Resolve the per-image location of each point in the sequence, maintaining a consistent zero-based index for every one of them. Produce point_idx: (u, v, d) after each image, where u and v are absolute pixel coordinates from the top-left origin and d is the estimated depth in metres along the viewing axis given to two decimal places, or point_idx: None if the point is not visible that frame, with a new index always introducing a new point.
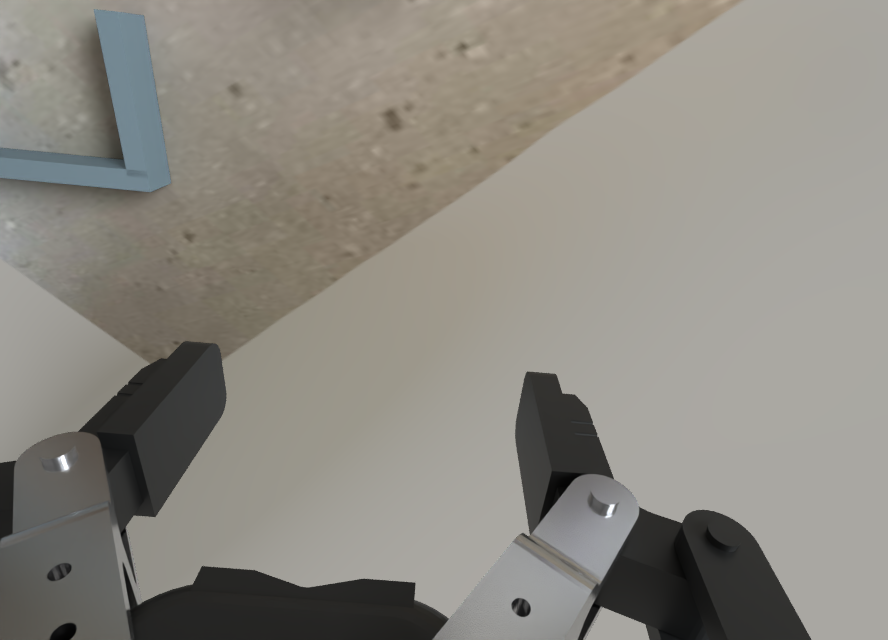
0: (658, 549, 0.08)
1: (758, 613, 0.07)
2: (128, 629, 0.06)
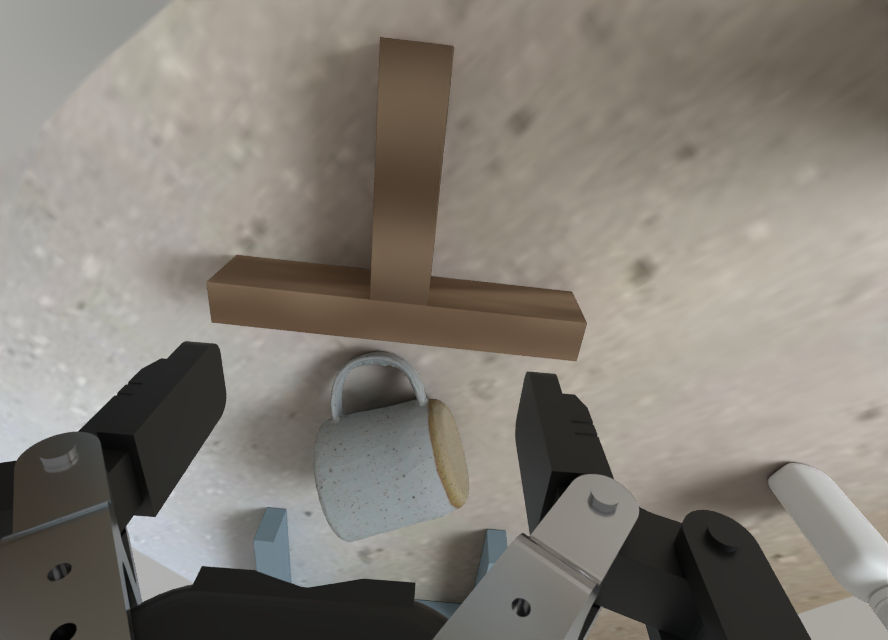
0: (658, 549, 0.08)
1: (758, 613, 0.07)
2: (128, 629, 0.06)
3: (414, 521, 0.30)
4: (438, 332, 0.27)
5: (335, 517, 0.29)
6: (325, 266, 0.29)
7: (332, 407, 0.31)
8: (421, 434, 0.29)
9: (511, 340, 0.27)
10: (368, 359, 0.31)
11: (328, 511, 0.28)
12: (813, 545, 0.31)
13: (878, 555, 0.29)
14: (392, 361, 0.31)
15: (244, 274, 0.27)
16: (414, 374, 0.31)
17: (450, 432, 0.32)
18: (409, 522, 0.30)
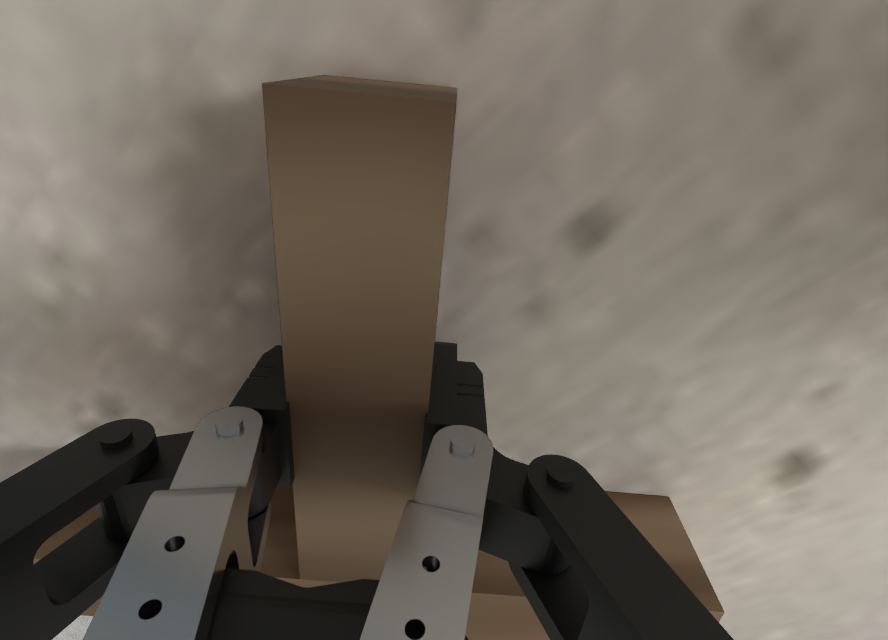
0: (508, 489, 0.09)
1: (604, 532, 0.08)
2: (196, 632, 0.06)
3: None
4: None
5: None
6: None
7: None
8: None
9: None
10: None
11: None
12: None
13: None
14: None
15: None
16: None
17: None
18: None
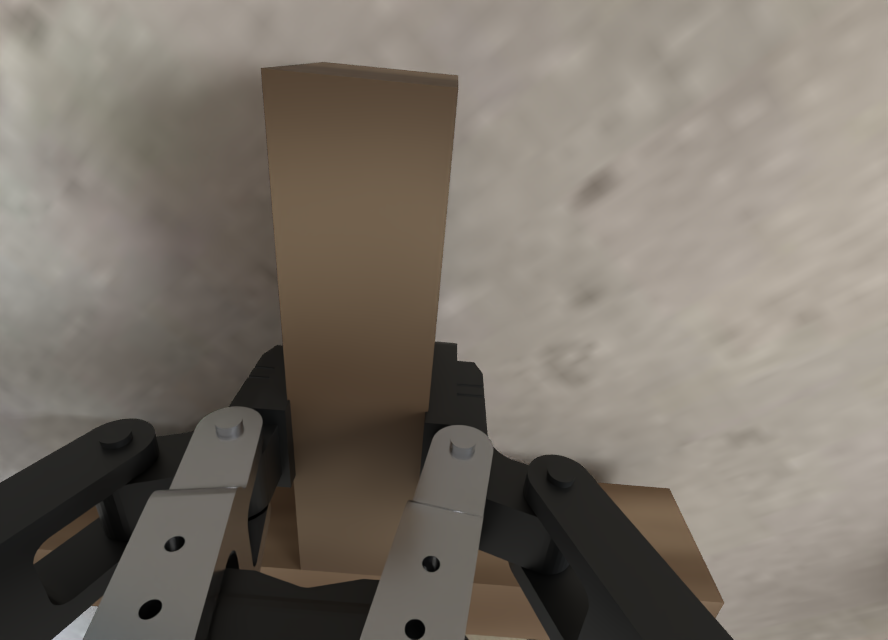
0: (508, 489, 0.09)
1: (604, 532, 0.08)
2: (196, 632, 0.06)
3: None
4: None
5: None
6: None
7: None
8: None
9: None
10: None
11: None
12: None
13: None
14: None
15: None
16: None
17: None
18: None
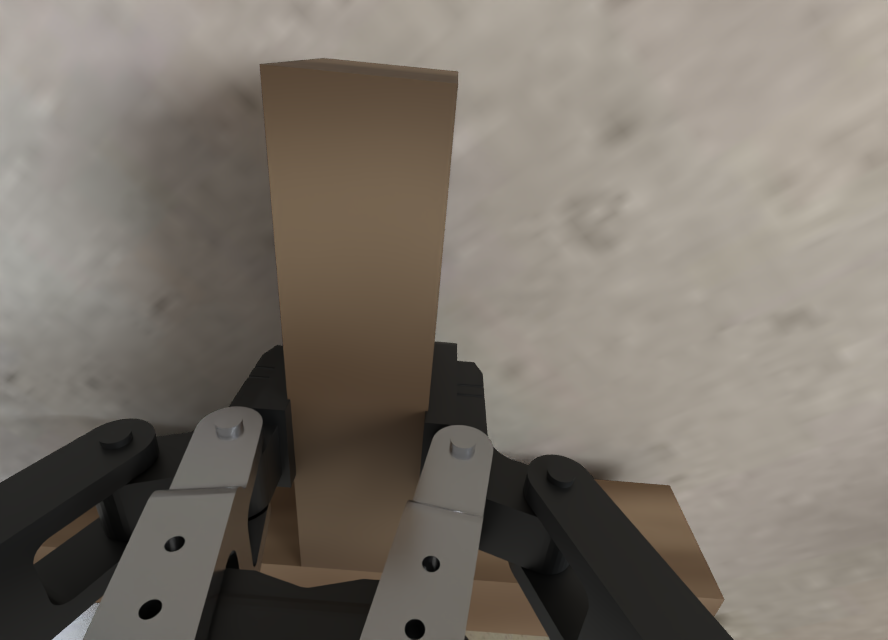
0: (508, 489, 0.09)
1: (604, 532, 0.08)
2: (196, 632, 0.06)
3: None
4: None
5: None
6: None
7: None
8: None
9: None
10: None
11: None
12: None
13: None
14: None
15: None
16: None
17: None
18: None
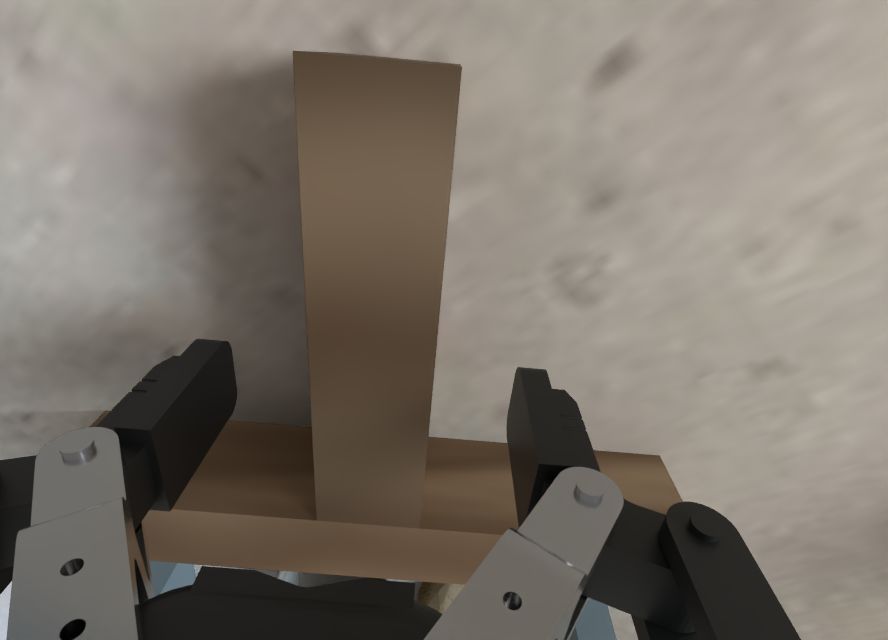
0: (642, 540, 0.09)
1: (741, 601, 0.07)
2: (136, 628, 0.06)
3: None
4: (442, 564, 0.15)
5: None
6: (251, 428, 0.18)
7: None
8: None
9: None
10: None
11: None
12: None
13: None
14: None
15: None
16: None
17: None
18: None
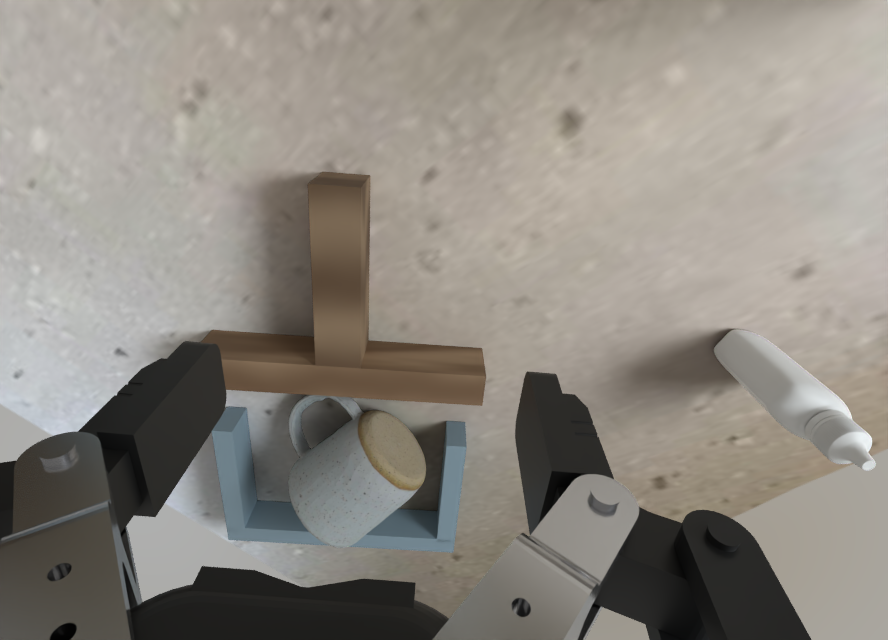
0: (658, 549, 0.08)
1: (758, 613, 0.07)
2: (128, 629, 0.06)
3: (381, 513, 0.35)
4: (371, 388, 0.34)
5: (317, 530, 0.35)
6: (283, 337, 0.36)
7: (295, 447, 0.38)
8: (353, 442, 0.35)
9: (429, 391, 0.34)
10: (304, 400, 0.38)
11: (310, 527, 0.35)
12: (753, 391, 0.32)
13: (810, 386, 0.30)
14: None
15: None
16: (343, 397, 0.37)
17: (390, 432, 0.37)
18: (377, 515, 0.35)
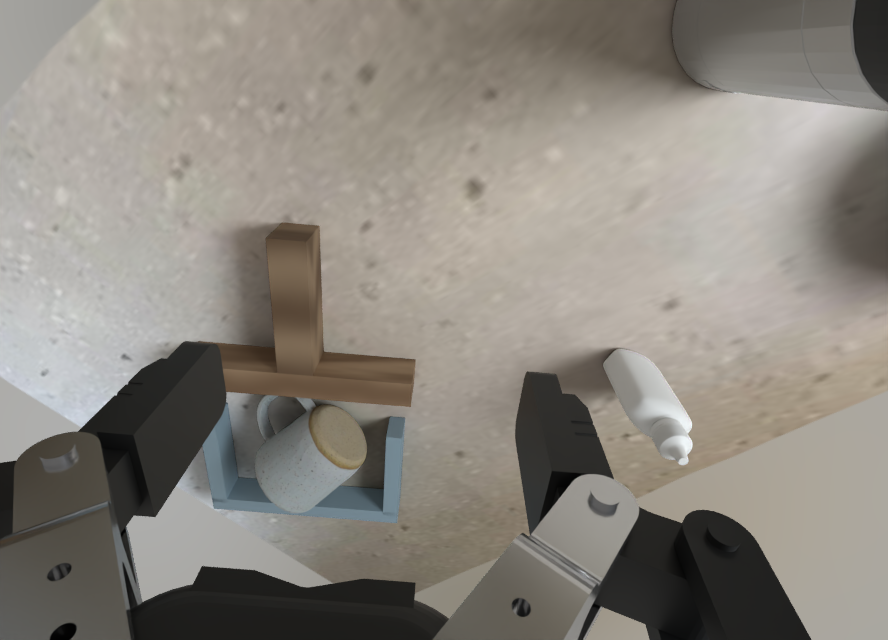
0: (658, 549, 0.08)
1: (758, 613, 0.07)
2: (129, 629, 0.06)
3: (326, 486, 0.44)
4: (322, 391, 0.43)
5: (275, 499, 0.44)
6: (255, 347, 0.45)
7: (261, 433, 0.47)
8: (304, 430, 0.44)
9: (368, 395, 0.43)
10: (269, 395, 0.47)
11: (270, 496, 0.44)
12: None
13: (656, 398, 0.38)
14: None
15: None
16: None
17: (337, 422, 0.46)
18: (324, 488, 0.44)
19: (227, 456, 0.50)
